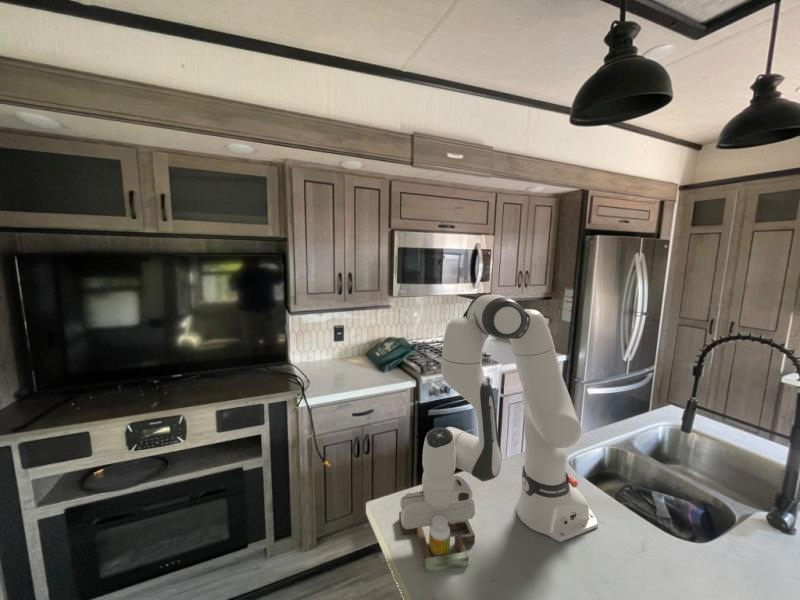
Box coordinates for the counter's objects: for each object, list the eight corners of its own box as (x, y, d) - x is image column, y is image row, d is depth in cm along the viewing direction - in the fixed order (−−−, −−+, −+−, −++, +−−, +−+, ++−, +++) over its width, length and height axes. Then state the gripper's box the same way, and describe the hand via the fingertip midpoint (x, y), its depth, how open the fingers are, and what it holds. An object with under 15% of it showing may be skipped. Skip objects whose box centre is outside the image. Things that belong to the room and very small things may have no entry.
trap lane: (457, 505, 103) (457, 498, 103) (483, 562, 84) (483, 554, 84) (398, 513, 100) (398, 506, 100) (410, 575, 81) (410, 566, 81)
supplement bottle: (444, 565, 84) (445, 533, 82) (425, 555, 87) (426, 524, 85) (452, 548, 88) (453, 517, 86) (434, 538, 91) (434, 509, 89)
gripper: (402, 503, 84) (402, 551, 86) (478, 492, 87) (476, 538, 90) (398, 486, 90) (398, 530, 92) (469, 476, 93) (467, 519, 96)
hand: (437, 534), depth 91 cm, fingers closed
